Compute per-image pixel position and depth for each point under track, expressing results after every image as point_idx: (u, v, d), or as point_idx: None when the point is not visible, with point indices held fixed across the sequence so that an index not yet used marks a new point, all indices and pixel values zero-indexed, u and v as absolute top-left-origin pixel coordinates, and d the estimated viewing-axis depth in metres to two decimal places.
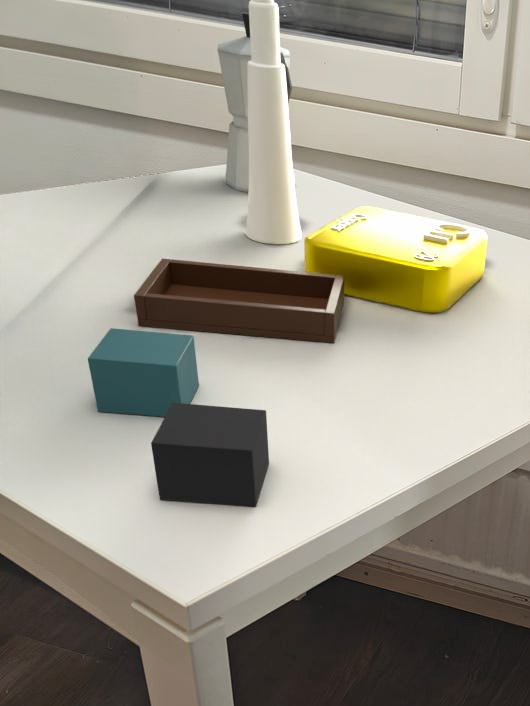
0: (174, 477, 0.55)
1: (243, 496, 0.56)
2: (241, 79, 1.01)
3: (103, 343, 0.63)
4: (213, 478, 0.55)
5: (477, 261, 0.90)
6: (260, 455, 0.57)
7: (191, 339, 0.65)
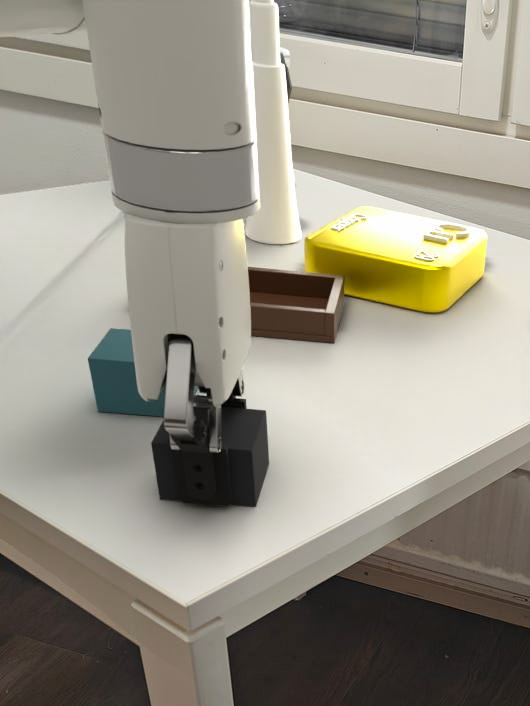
0: (174, 477, 0.55)
1: (243, 496, 0.56)
2: None
3: (103, 343, 0.63)
4: None
5: (477, 261, 0.90)
6: (260, 455, 0.57)
7: None
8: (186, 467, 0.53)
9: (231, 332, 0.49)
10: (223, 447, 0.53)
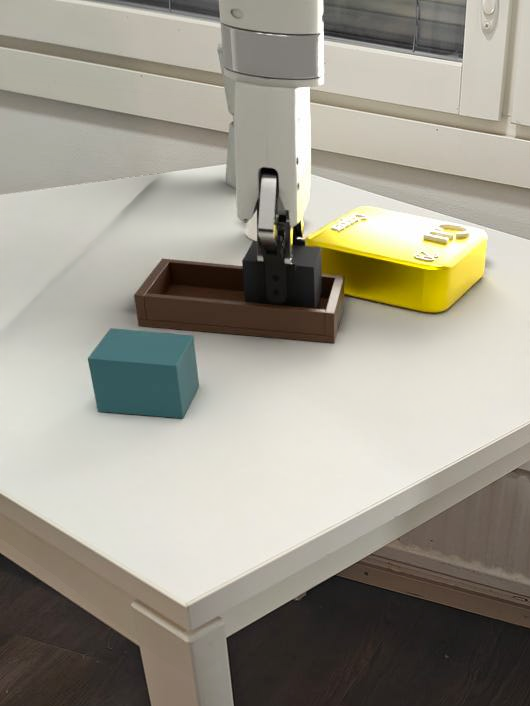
0: (256, 289, 0.76)
1: (306, 305, 0.77)
2: None
3: (103, 343, 0.63)
4: None
5: (477, 261, 0.90)
6: (317, 277, 0.78)
7: (191, 339, 0.65)
8: (267, 277, 0.74)
9: (302, 172, 0.70)
10: (293, 263, 0.74)
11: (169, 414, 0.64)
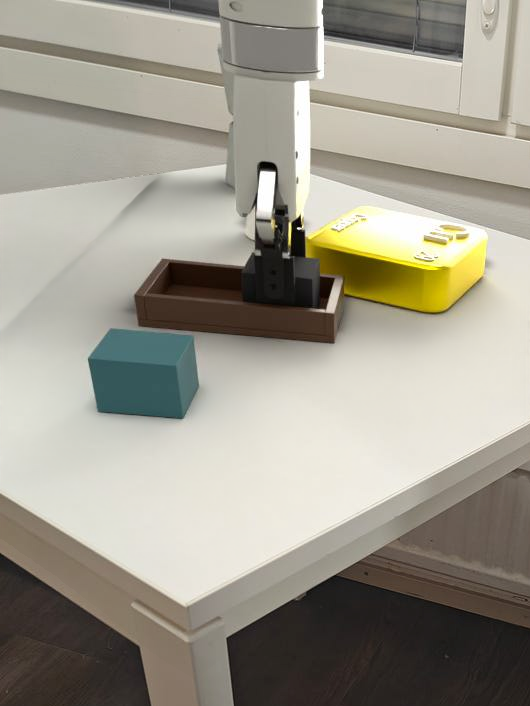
0: (255, 300, 0.77)
1: None
2: None
3: (103, 343, 0.63)
4: None
5: (477, 261, 0.90)
6: (316, 289, 0.78)
7: (191, 339, 0.65)
8: (264, 271, 0.73)
9: (301, 166, 0.70)
10: (291, 257, 0.73)
11: (169, 414, 0.64)
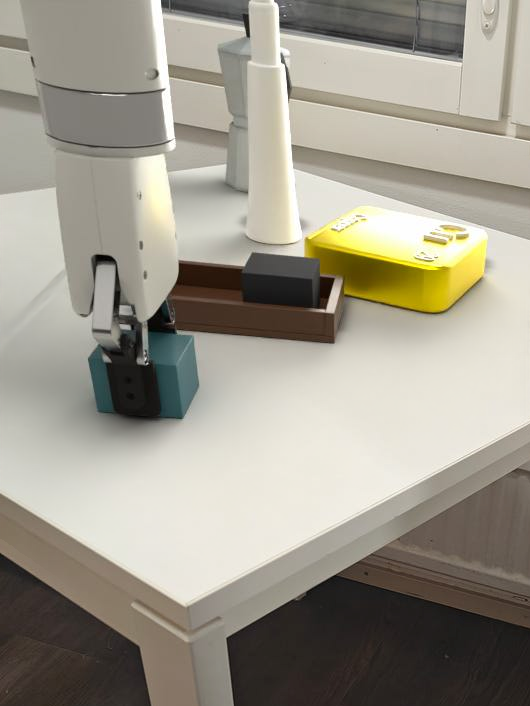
0: (255, 300, 0.77)
1: None
2: (241, 79, 1.01)
3: None
4: (284, 302, 0.77)
5: (477, 261, 0.90)
6: (316, 289, 0.78)
7: (191, 339, 0.65)
8: (118, 379, 0.61)
9: (152, 256, 0.57)
10: (150, 362, 0.61)
11: (169, 414, 0.64)
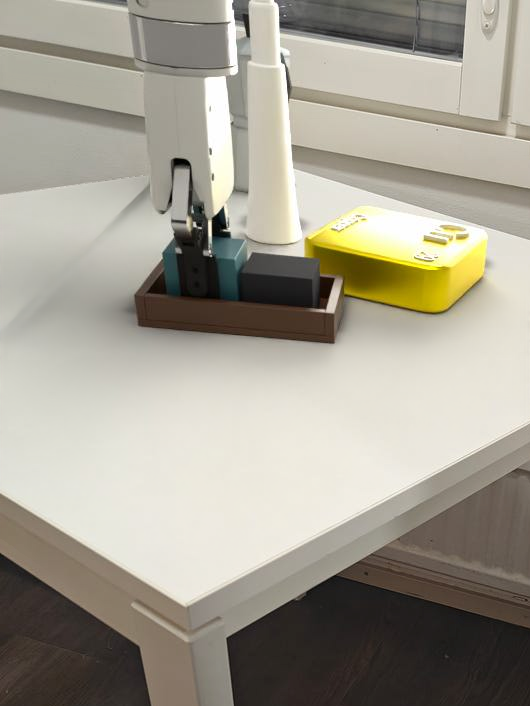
0: (255, 300, 0.77)
1: None
2: (241, 79, 1.01)
3: (173, 243, 0.76)
4: (284, 302, 0.77)
5: (477, 261, 0.90)
6: (316, 289, 0.78)
7: (244, 242, 0.78)
8: (186, 269, 0.73)
9: (218, 163, 0.70)
10: (213, 255, 0.74)
11: None
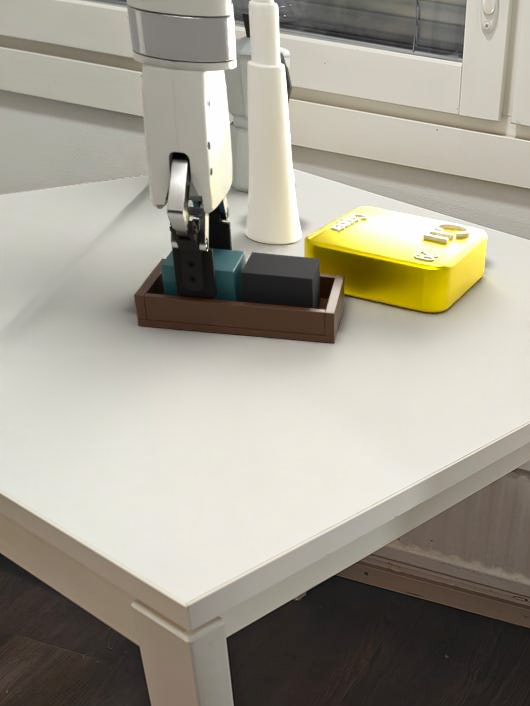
0: (255, 300, 0.77)
1: None
2: (241, 79, 1.01)
3: (172, 254, 0.76)
4: (284, 302, 0.77)
5: (477, 261, 0.90)
6: (316, 289, 0.78)
7: (243, 254, 0.79)
8: (182, 263, 0.73)
9: (216, 157, 0.69)
10: (209, 249, 0.73)
11: None
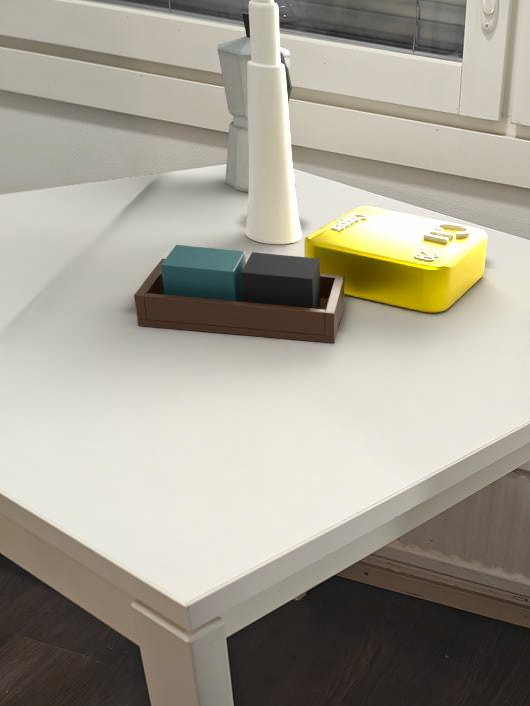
0: (255, 300, 0.77)
1: None
2: (241, 79, 1.01)
3: (172, 254, 0.76)
4: (284, 302, 0.77)
5: (477, 261, 0.90)
6: (316, 289, 0.78)
7: (243, 254, 0.79)
8: None
9: None
10: None
11: None
